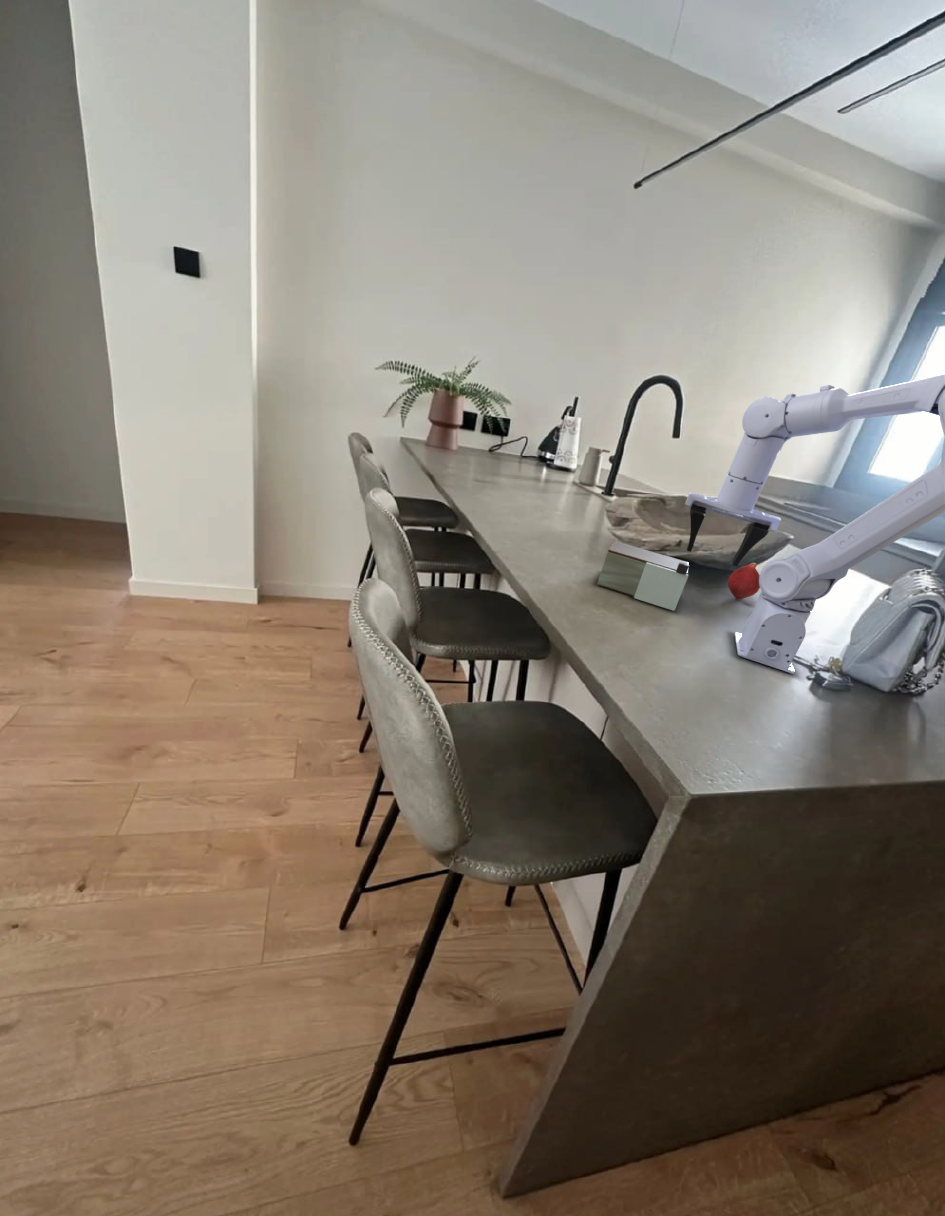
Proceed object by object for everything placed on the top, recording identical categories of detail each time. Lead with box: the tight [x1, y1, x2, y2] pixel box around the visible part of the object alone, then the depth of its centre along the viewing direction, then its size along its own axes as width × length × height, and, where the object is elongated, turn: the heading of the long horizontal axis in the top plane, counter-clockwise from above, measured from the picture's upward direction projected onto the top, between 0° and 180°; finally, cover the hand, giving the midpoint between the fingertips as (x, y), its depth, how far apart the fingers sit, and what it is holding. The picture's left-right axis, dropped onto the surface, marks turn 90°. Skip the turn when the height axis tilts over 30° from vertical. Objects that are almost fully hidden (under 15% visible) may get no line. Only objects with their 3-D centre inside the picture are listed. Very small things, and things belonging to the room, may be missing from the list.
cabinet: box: [596, 540, 689, 598], centre depth 97 cm, size 8×14×7 cm, turn 68°
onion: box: [727, 562, 761, 601], centre depth 105 cm, size 6×6×8 cm
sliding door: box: [633, 562, 690, 612], centre depth 91 cm, size 1×7×8 cm, turn 68°
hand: (711, 557), depth 90 cm, fingers open, 7 cm apart
